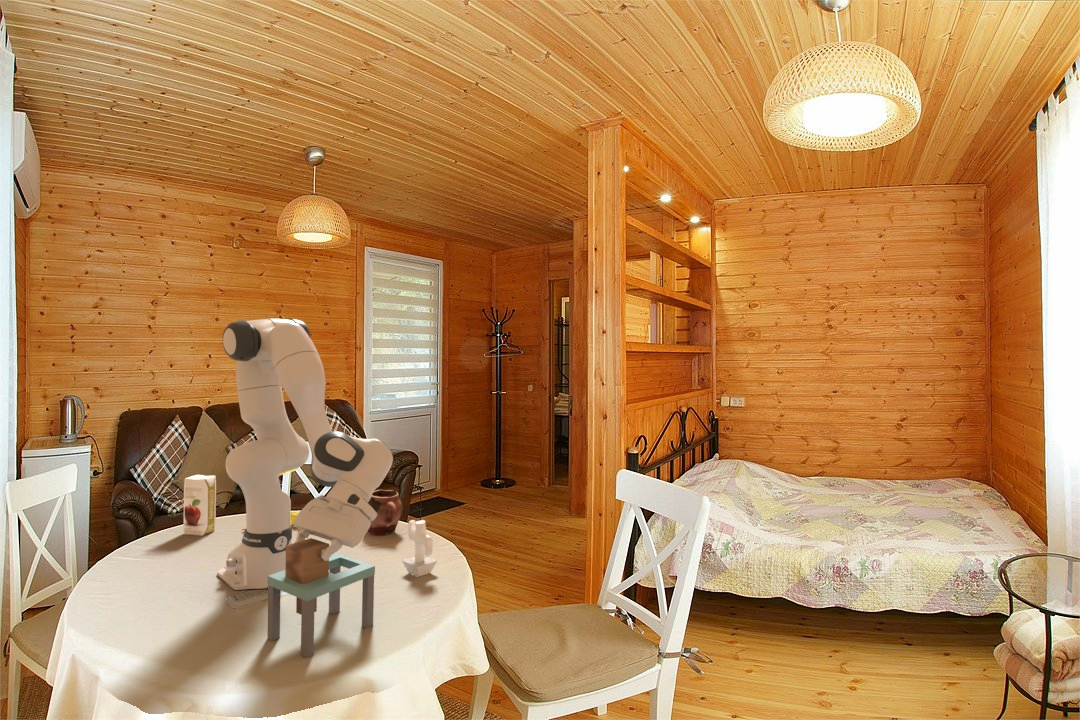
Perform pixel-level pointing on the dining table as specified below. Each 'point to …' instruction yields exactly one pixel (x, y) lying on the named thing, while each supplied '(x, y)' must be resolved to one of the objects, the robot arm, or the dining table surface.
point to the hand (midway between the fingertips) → (308, 554)
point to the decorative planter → (385, 512)
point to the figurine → (420, 550)
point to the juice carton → (199, 505)
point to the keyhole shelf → (318, 588)
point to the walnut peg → (305, 564)
